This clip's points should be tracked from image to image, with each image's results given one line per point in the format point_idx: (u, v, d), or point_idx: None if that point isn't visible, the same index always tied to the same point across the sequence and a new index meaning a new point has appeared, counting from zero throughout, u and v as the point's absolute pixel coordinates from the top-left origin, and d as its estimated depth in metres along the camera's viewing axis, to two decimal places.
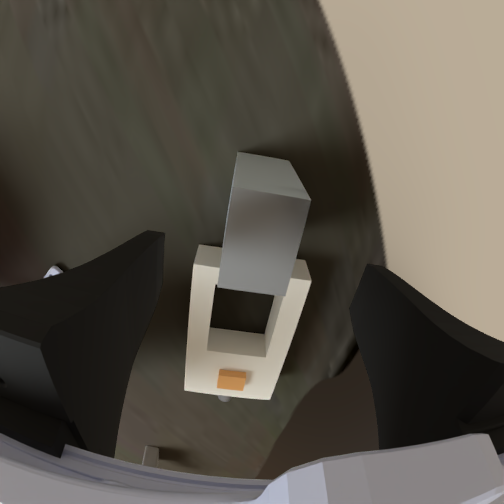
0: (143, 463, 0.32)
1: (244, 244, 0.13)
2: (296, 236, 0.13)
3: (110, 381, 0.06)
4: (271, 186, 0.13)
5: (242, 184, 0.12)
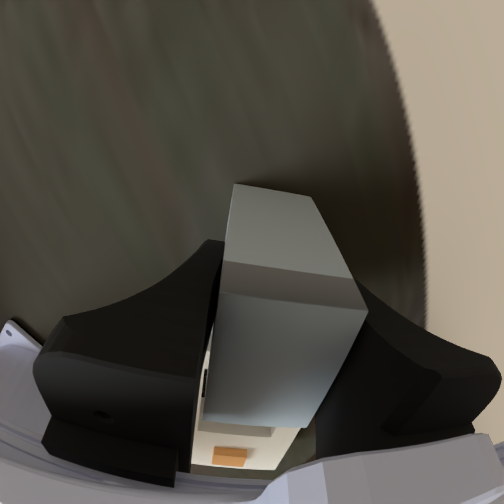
0: None
1: (244, 376, 0.07)
2: (334, 363, 0.07)
3: (197, 398, 0.07)
4: (294, 278, 0.07)
5: (238, 279, 0.06)
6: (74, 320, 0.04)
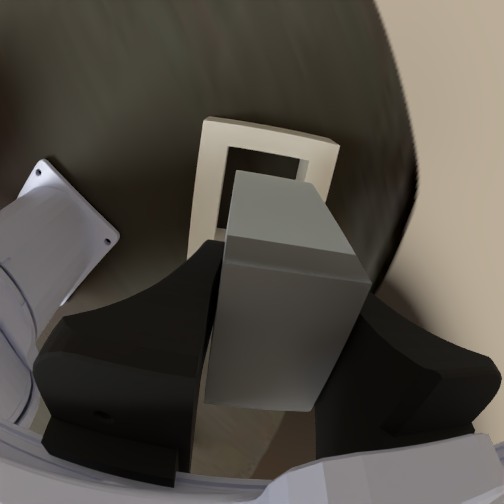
0: None
1: (247, 353, 0.07)
2: (338, 339, 0.07)
3: (197, 398, 0.07)
4: (297, 252, 0.07)
5: (242, 252, 0.06)
6: (74, 320, 0.04)
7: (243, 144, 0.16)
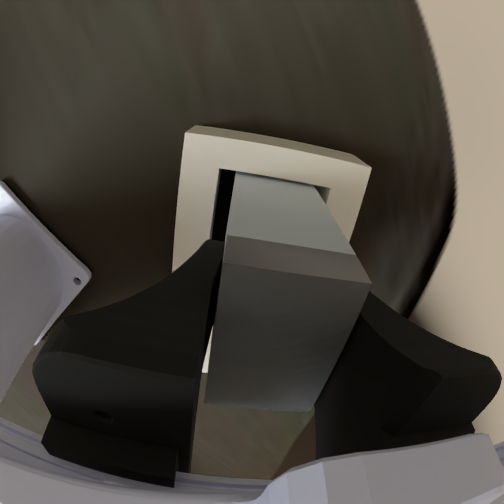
0: None
1: (247, 353, 0.07)
2: (338, 340, 0.07)
3: (197, 398, 0.07)
4: (297, 252, 0.07)
5: (242, 252, 0.06)
6: (74, 319, 0.04)
7: (240, 166, 0.11)
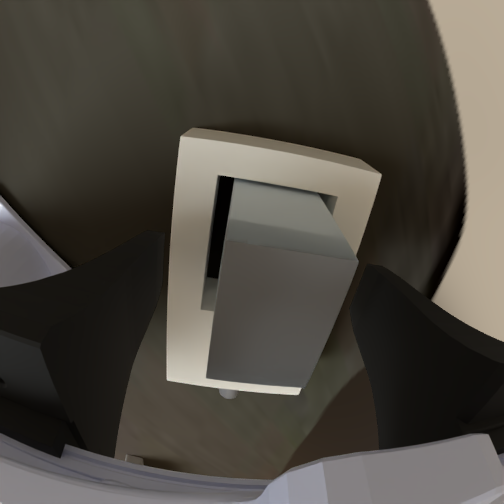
0: None
1: (246, 327, 0.08)
2: (329, 315, 0.08)
3: (110, 381, 0.06)
4: (292, 234, 0.08)
5: (242, 232, 0.07)
6: None
7: (241, 172, 0.11)
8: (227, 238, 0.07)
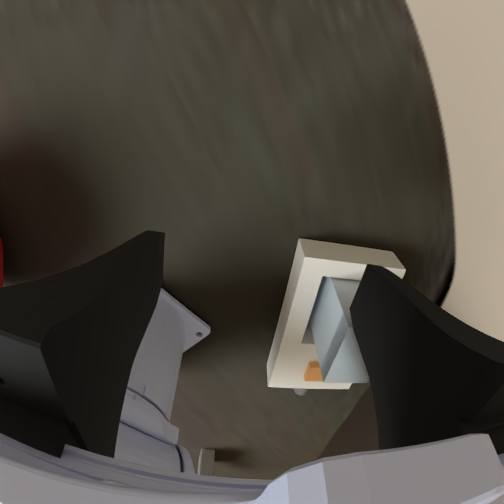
0: (200, 467, 0.32)
1: (348, 357, 0.17)
2: None
3: (110, 381, 0.06)
4: None
5: None
6: None
7: (334, 274, 0.19)
8: (348, 325, 0.16)
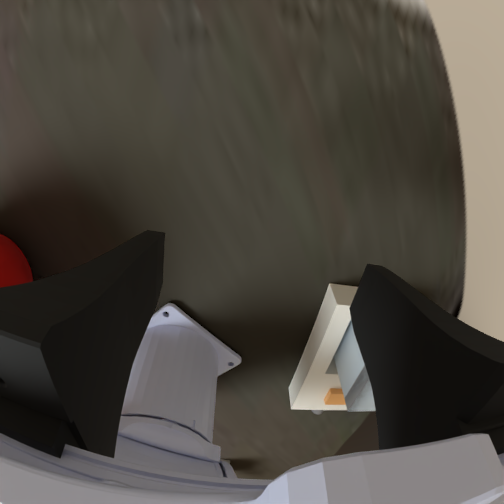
0: None
1: (371, 392, 0.19)
2: None
3: (110, 381, 0.06)
4: None
5: None
6: None
7: None
8: None
